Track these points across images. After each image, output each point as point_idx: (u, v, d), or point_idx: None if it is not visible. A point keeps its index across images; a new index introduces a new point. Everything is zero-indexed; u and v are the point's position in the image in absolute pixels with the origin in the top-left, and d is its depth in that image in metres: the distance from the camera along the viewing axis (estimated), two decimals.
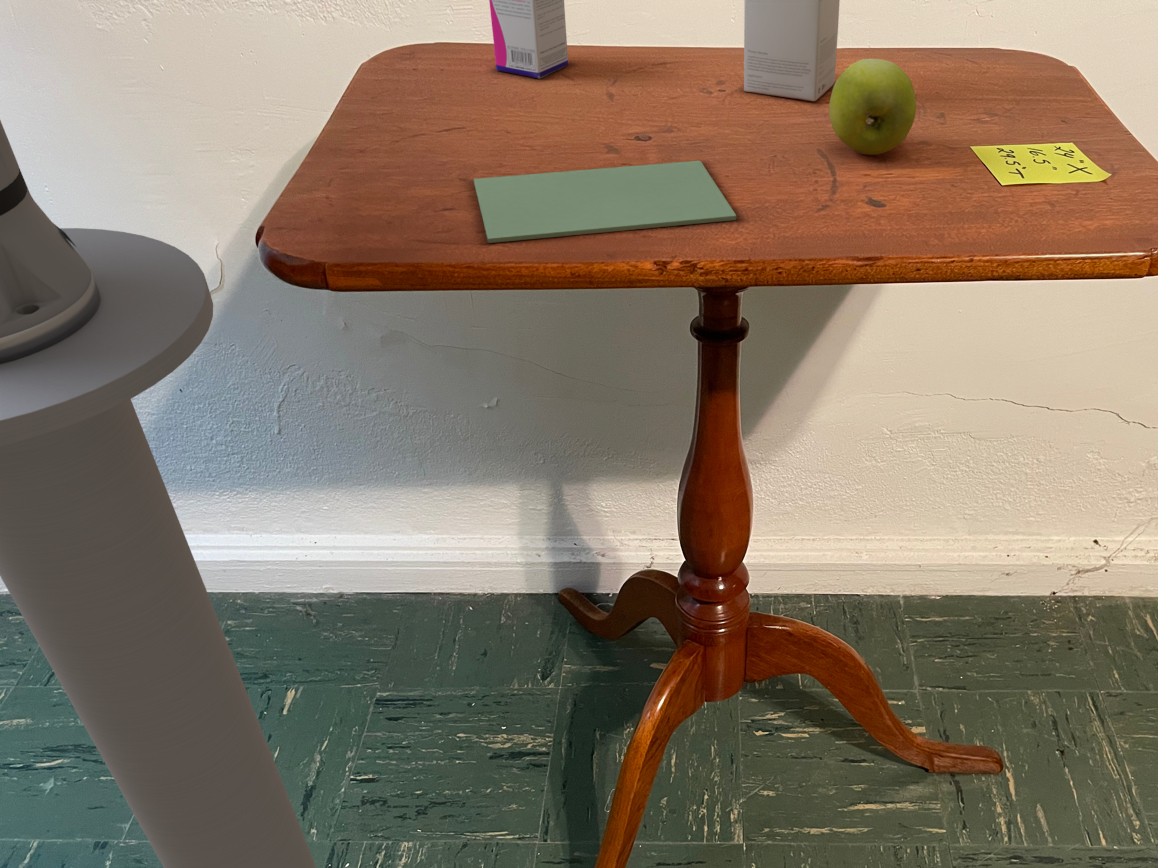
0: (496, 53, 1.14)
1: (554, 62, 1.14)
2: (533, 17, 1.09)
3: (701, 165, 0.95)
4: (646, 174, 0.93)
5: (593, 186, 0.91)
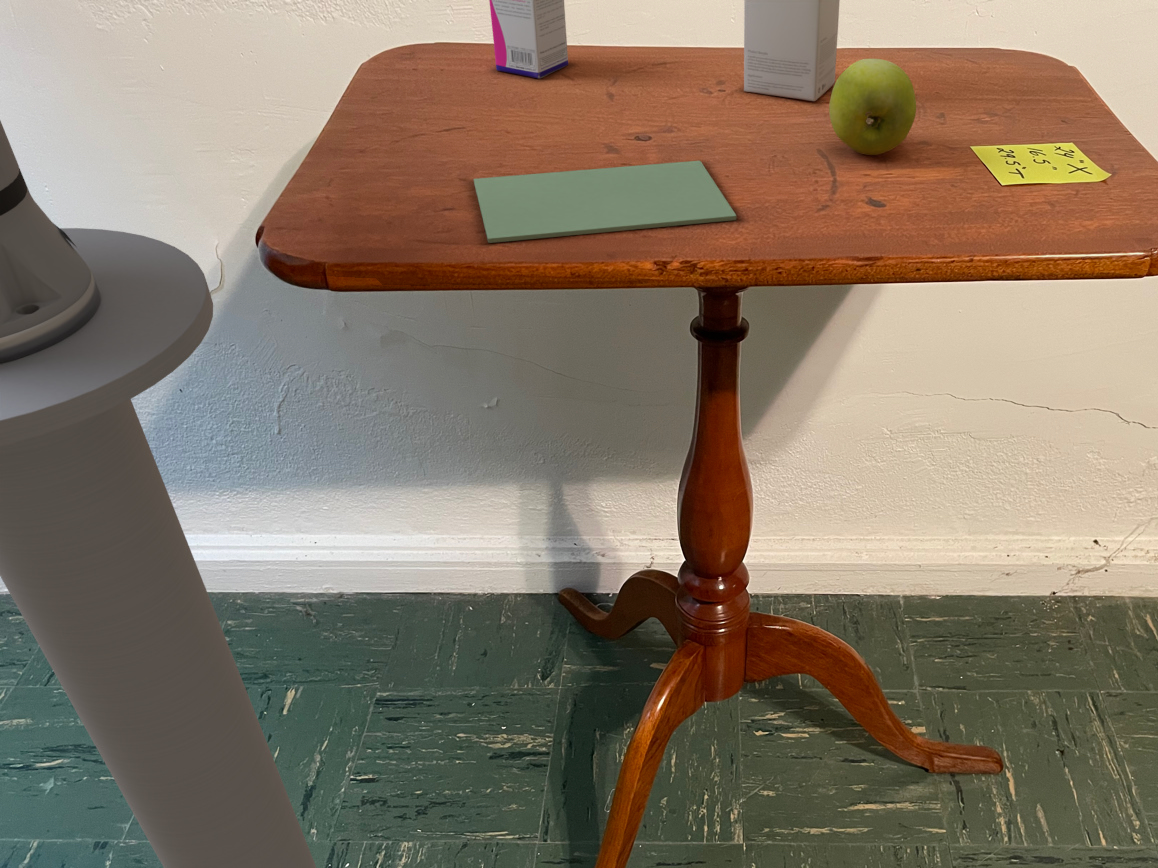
0: (496, 53, 1.14)
1: (554, 62, 1.14)
2: (533, 17, 1.09)
3: (701, 165, 0.95)
4: (646, 174, 0.93)
5: (593, 186, 0.91)
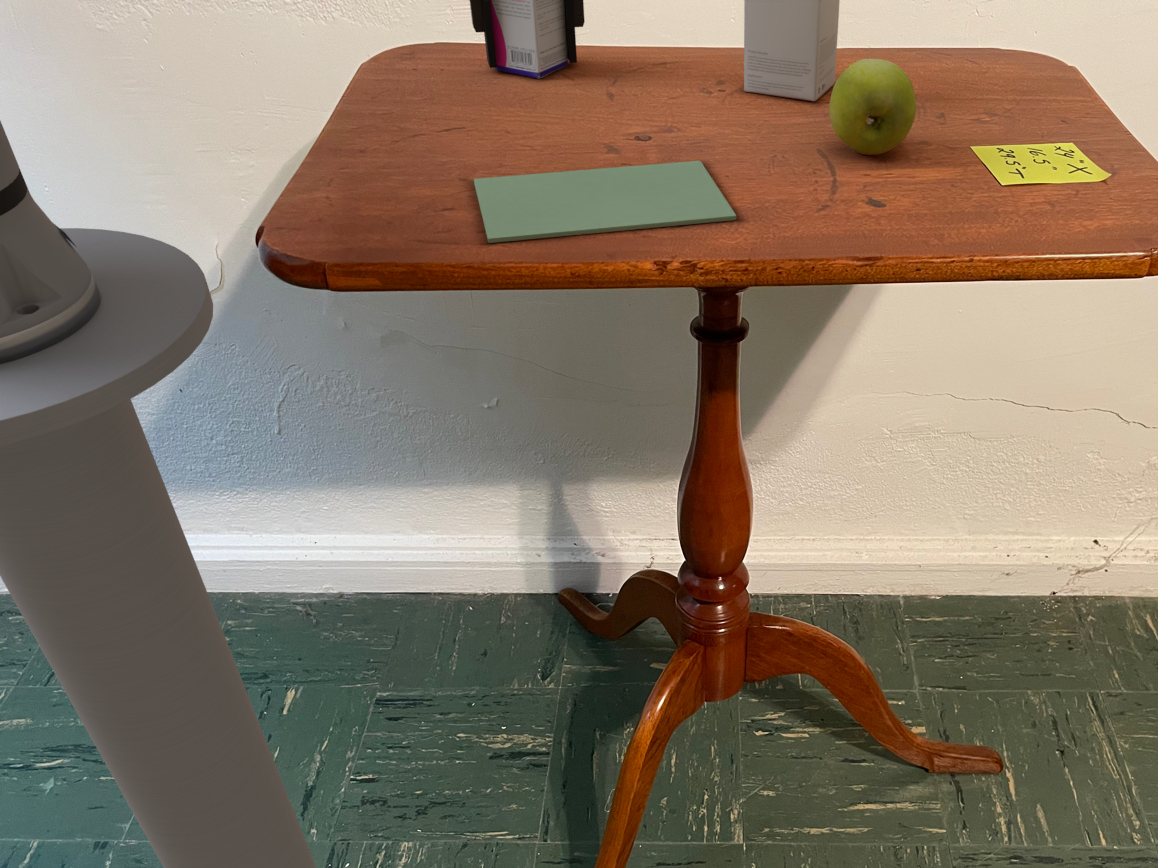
0: (496, 53, 1.14)
1: (554, 62, 1.14)
2: (533, 17, 1.09)
3: (701, 165, 0.95)
4: (646, 174, 0.93)
5: (593, 186, 0.91)
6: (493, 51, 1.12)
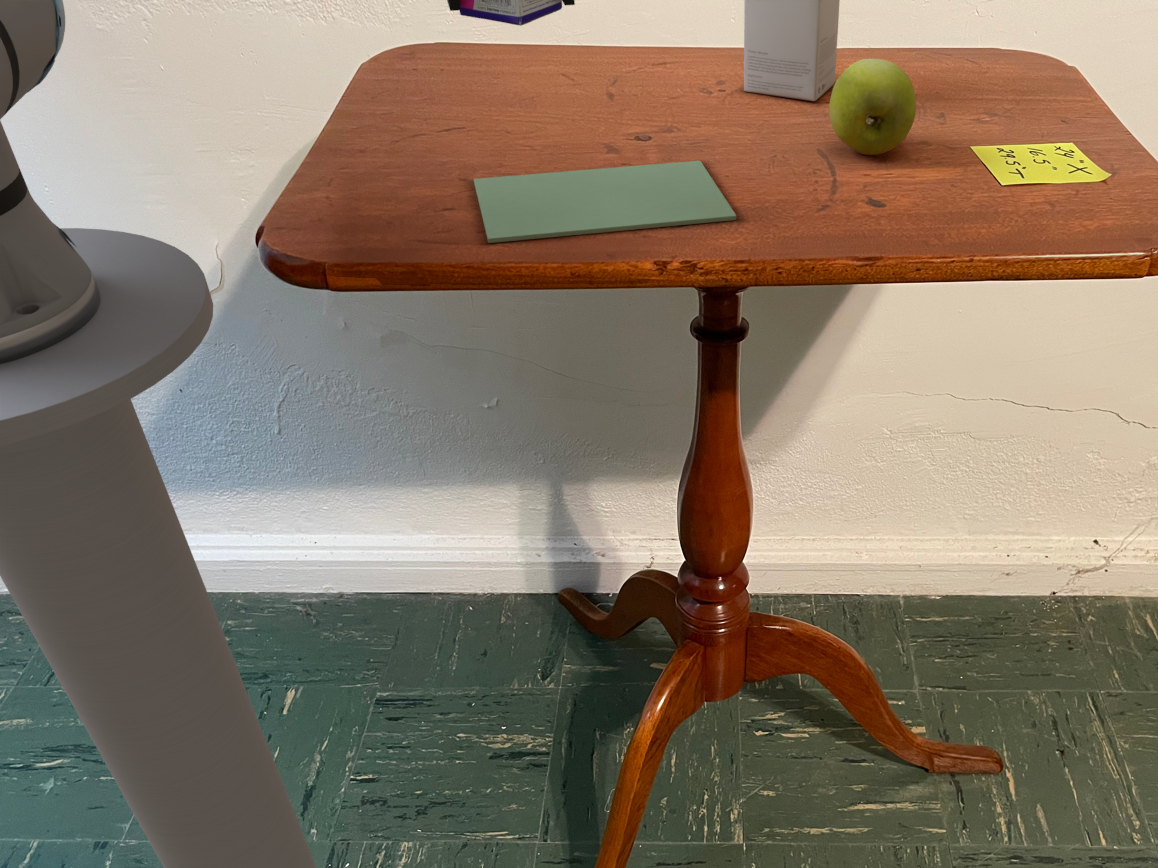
0: None
1: (542, 3, 0.80)
2: None
3: (701, 165, 0.95)
4: (646, 174, 0.93)
5: (593, 186, 0.91)
6: None
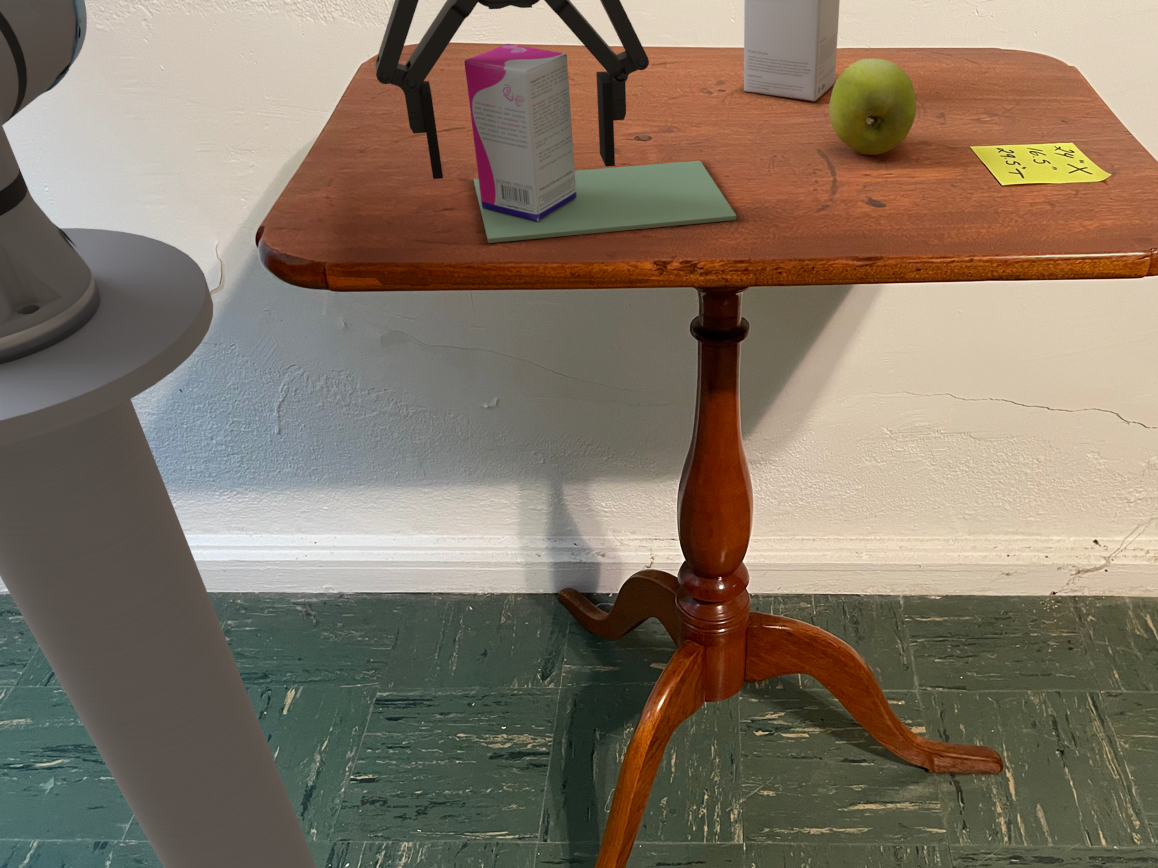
0: (481, 187, 0.86)
1: (558, 198, 0.87)
2: (530, 146, 0.81)
3: (701, 165, 0.95)
4: (646, 174, 0.93)
5: (593, 186, 0.91)
6: (437, 158, 0.83)
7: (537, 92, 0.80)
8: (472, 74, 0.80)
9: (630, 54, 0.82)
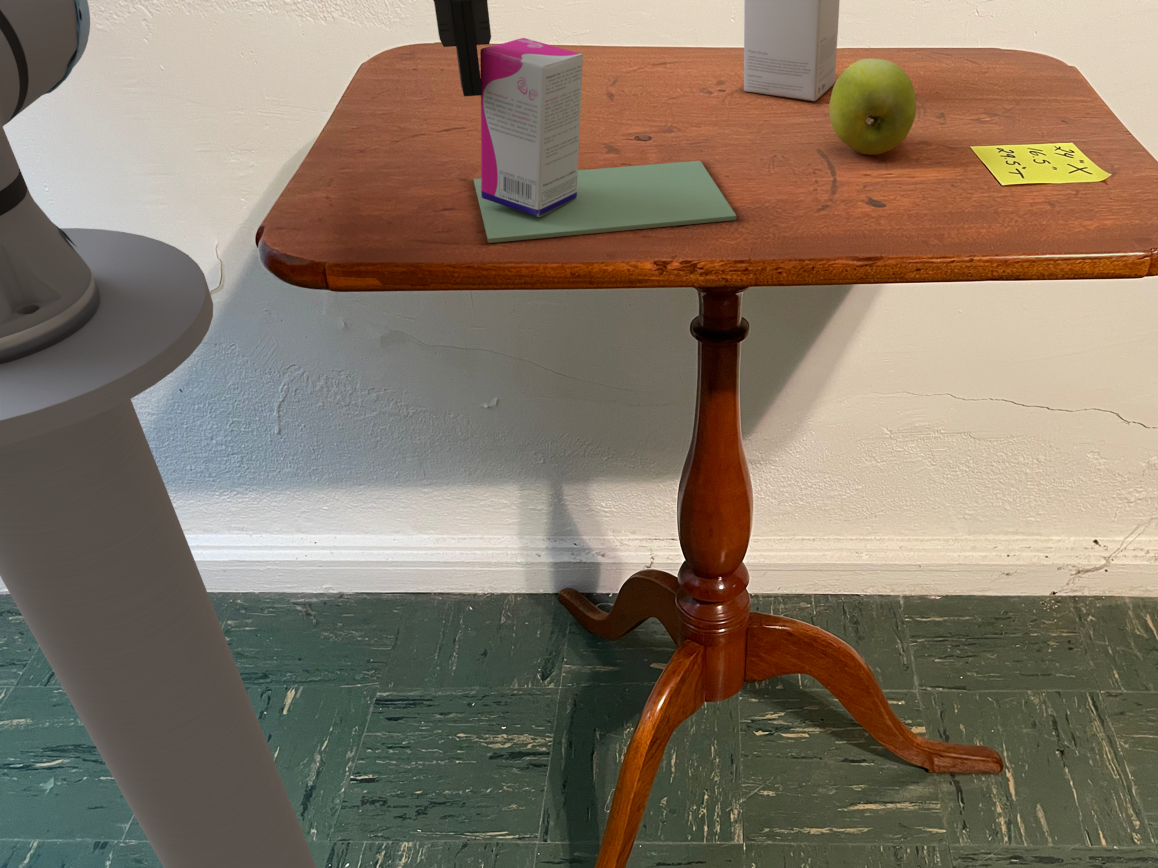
0: (483, 177, 0.85)
1: (559, 196, 0.86)
2: (539, 140, 0.81)
3: (701, 165, 0.95)
4: (646, 174, 0.93)
5: (593, 186, 0.91)
6: (468, 73, 0.79)
7: (551, 88, 0.80)
8: (487, 63, 0.80)
9: None
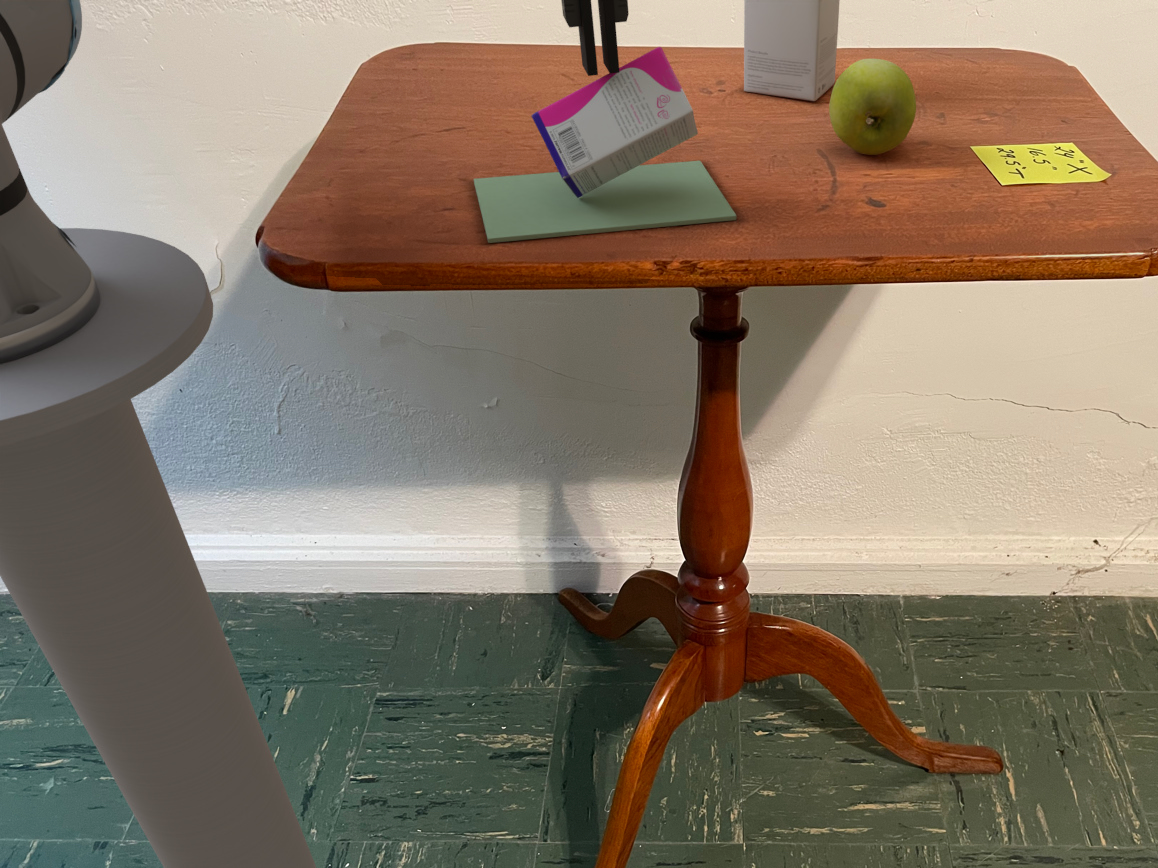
0: (552, 107, 0.83)
1: (581, 184, 0.86)
2: (630, 141, 0.83)
3: (701, 165, 0.95)
4: (646, 174, 0.93)
5: None
6: (593, 52, 0.81)
7: (674, 127, 0.84)
8: (654, 59, 0.83)
9: None
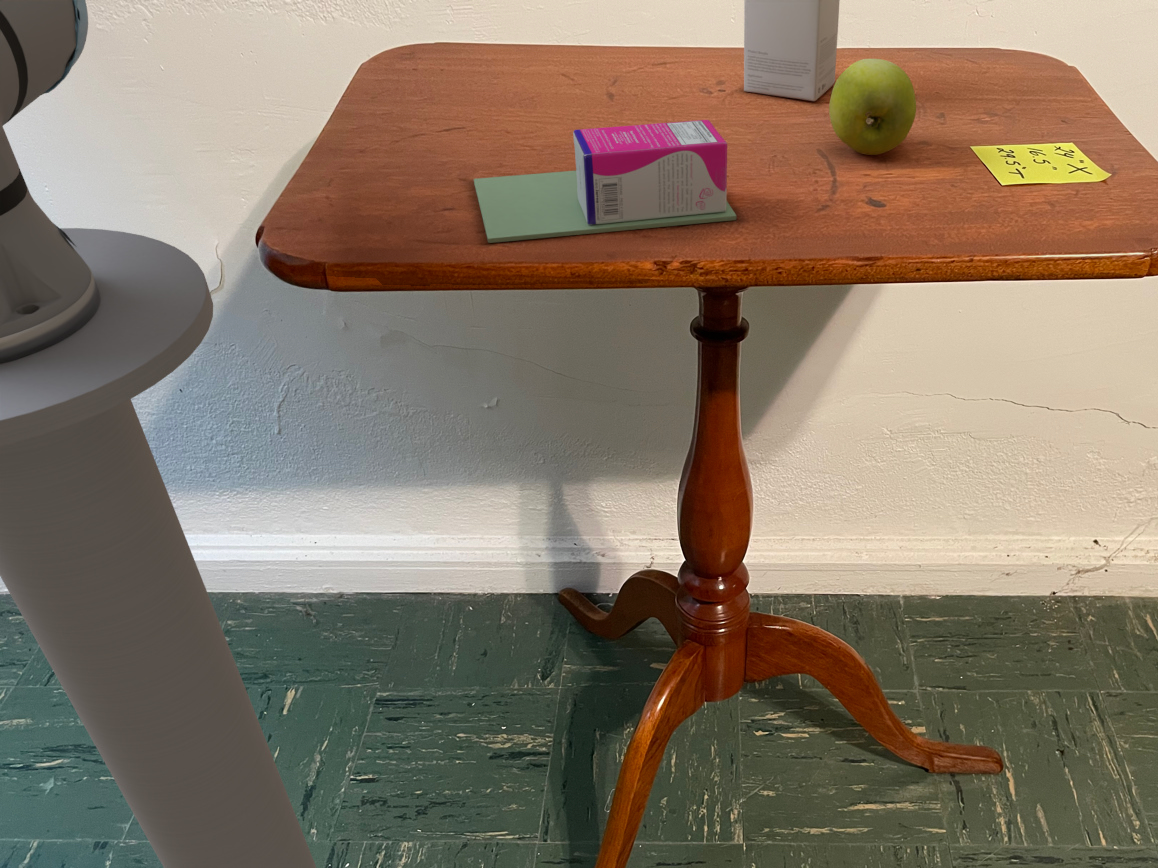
0: (607, 157, 0.82)
1: None
2: (661, 216, 0.86)
3: None
4: None
5: None
6: None
7: None
8: (716, 153, 0.84)
9: None
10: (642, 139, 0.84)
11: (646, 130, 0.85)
